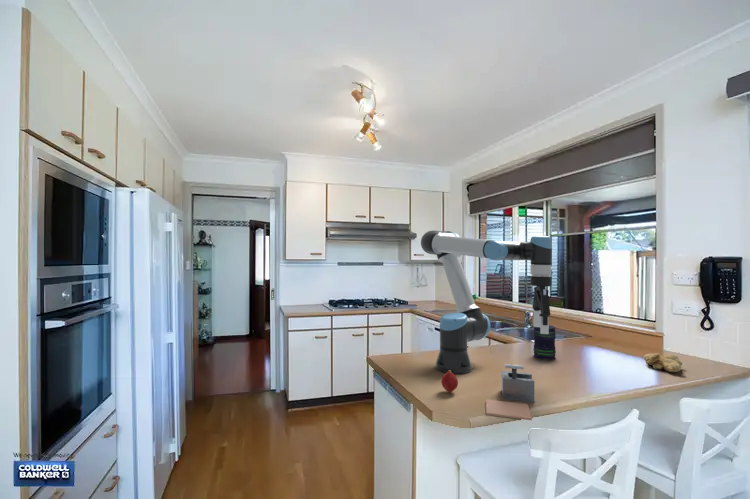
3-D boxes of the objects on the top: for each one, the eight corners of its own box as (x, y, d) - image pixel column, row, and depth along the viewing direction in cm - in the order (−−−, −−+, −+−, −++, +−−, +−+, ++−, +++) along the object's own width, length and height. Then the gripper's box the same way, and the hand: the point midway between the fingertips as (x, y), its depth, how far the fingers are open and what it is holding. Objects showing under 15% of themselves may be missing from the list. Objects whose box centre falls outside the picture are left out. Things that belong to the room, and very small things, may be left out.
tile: (486, 414, 112) (486, 412, 112) (486, 401, 123) (486, 399, 123) (531, 420, 108) (531, 418, 108) (527, 406, 119) (527, 404, 119)
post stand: (505, 395, 128) (505, 365, 128) (505, 393, 130) (504, 363, 130) (523, 397, 126) (523, 367, 126) (523, 394, 128) (523, 364, 129)
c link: (502, 398, 125) (502, 378, 125) (501, 389, 133) (501, 370, 134) (534, 402, 122) (534, 381, 122) (531, 392, 131) (531, 373, 131)
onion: (439, 389, 133) (439, 367, 133) (455, 389, 134) (455, 367, 134) (443, 395, 127) (443, 372, 128) (460, 395, 128) (460, 372, 128)
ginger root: (647, 358, 172) (651, 342, 171) (688, 375, 159) (694, 358, 158) (632, 364, 164) (636, 348, 162) (674, 383, 151) (680, 365, 149)
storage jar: (554, 361, 171) (554, 329, 172) (531, 357, 177) (531, 326, 177) (557, 356, 180) (556, 325, 180) (535, 353, 185) (535, 323, 186)
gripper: (559, 277, 130) (559, 337, 129) (544, 274, 154) (544, 324, 154) (537, 277, 131) (536, 336, 131) (525, 273, 156) (525, 323, 155)
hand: (540, 330), depth 142 cm, fingers open, 13 cm apart
